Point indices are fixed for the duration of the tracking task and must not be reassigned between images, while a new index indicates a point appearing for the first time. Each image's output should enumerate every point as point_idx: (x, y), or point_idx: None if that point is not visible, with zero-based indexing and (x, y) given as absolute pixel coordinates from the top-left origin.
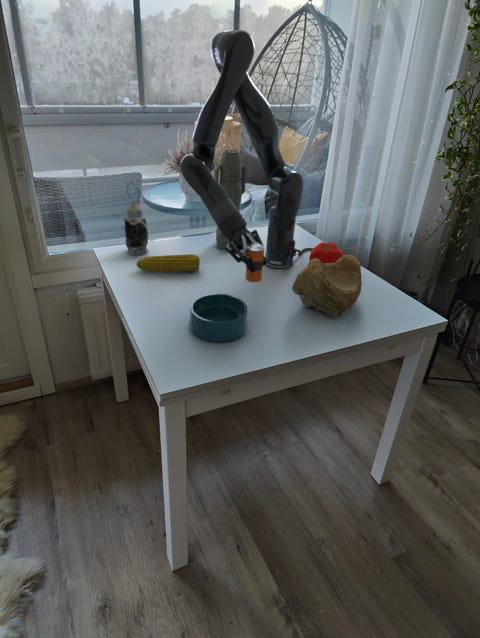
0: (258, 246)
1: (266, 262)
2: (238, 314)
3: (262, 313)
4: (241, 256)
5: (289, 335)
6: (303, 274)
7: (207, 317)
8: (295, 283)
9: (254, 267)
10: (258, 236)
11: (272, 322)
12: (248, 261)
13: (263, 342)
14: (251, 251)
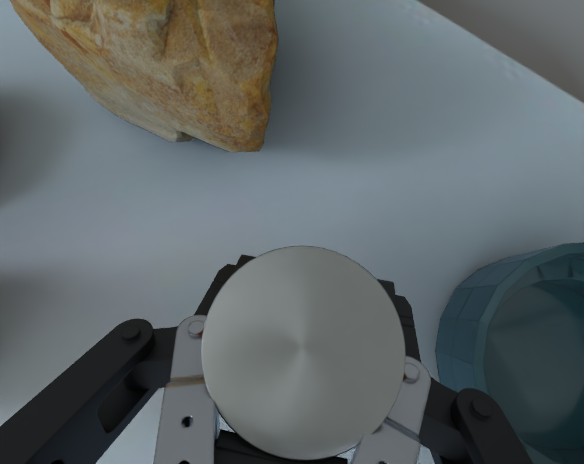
0: (268, 326)
1: (254, 257)
2: (507, 300)
3: (357, 252)
4: (507, 427)
5: (436, 128)
6: (275, 33)
7: (520, 431)
8: (268, 114)
9: (394, 296)
10: (16, 430)
11: (394, 200)
12: (415, 353)
13: (523, 183)
14: (396, 359)
